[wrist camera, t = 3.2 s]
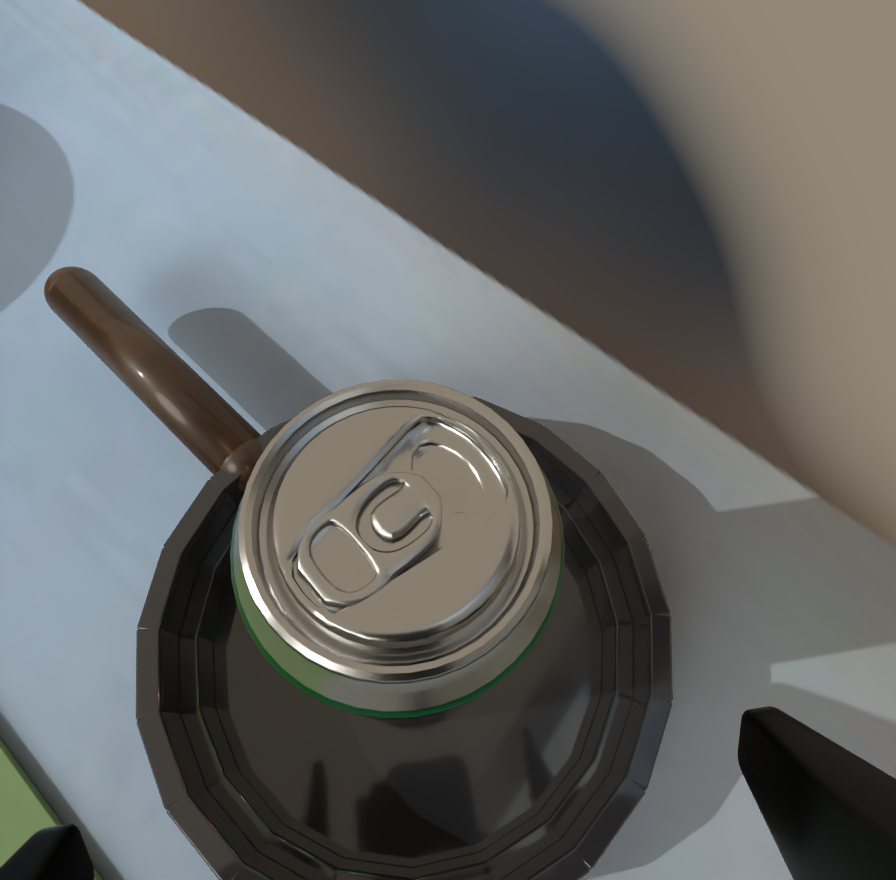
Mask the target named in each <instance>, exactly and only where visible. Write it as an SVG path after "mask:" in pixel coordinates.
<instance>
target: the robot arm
mask: <svg viewBox="0 0 896 880" xmlns="http://www.w3.org/2000/svg"><path fill="white" fill-rule="evenodd" d="M738 761H739V765H740V768H741V771H742V773H743V775H744V777H745V780H746V782H747V784H748V786H749V788H750V790H751V792H752V794H753V796H754V798H755V800H756V803H757V805H758V807H759V809H760V811H761V813H762V815H763V817H764V819H765V821H766V823H767V825H768V828H769V830H770V832H771V834H772V836H773V838H774V840H775V842H776V844H777V846H778V848H779V850H780V853H781V855H782V857H783V859H784V861H785V863H786V865H787V867H788V869H789V871H790V873H791V875H792V877H793V879H794V880H896V779H895V778H893V777H891V776H890V775H888V774H886V773H885V772H883V771H881V770H880V769H878V768H876V767H875V766H873V765H871V764H870V763H868V762H866V761H865V760H863V759H861V758H860V757H858V756H856V755H855V754H853V753H851V752H850V751H848V750H846V749H845V748H843V747H841V746H840V745H838V744H836V743H835V742H833V741H831V740H829V739H828V738H826V737H824V736H823V735H821V734H819V733H818V732H816V731H814V730H813V729H811V728H809V727H808V726H806V725H804V724H803V723H801V722H799V721H798V720H796V719H794V718H793V717H791V716H789V715H788V714H786V713H784V712H783V711H781V710H779V709H777V708H775V707H770V706H768V707H761V708H756V709H750V710H747V711H745V712H744V714H743V715H742V719H741V728H740V737H739V746H738ZM0 880H94V868H93V864H92V862H91V859H90V856H89V854H88V851H87V849H86V846H85V844H84V841H83V839H82V836H81V834H80V831H79V829H78V827H76V826H75V825H73V824H64V825H58V826H52V827H47V828H43V829H40V830H39V831H37V832H36V833H34V834H33V835H32V836H31V837H30V838H29V839H28V840H27V841H26V842H25V843H24V844H23V845H22V846H21V847H20V848H19V849H18V850H17V851H16V852H15V853H14V854H13V855H12V856H11V857H10V858H9V859H8V860H7V861H6V862H5V863H4V864H3V865H2V866H1V867H0Z"/></svg>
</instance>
